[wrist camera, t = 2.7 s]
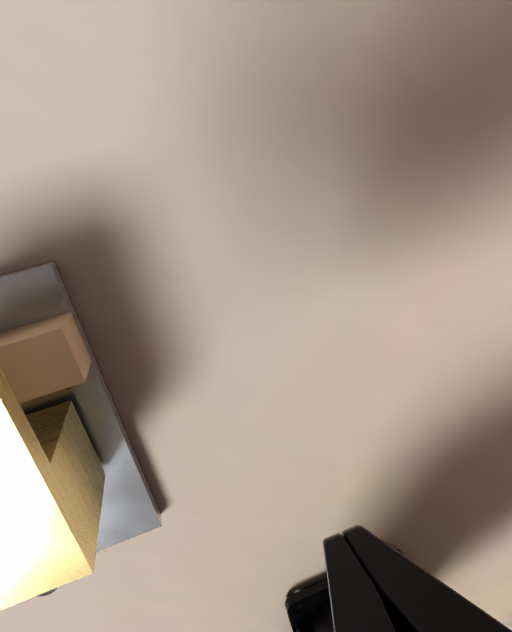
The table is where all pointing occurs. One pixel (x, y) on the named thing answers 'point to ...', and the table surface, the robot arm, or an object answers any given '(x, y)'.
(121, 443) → the flange plate
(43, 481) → the sliding head
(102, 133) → the table surface
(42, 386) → the divider beam
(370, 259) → the table surface
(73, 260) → the table surface
